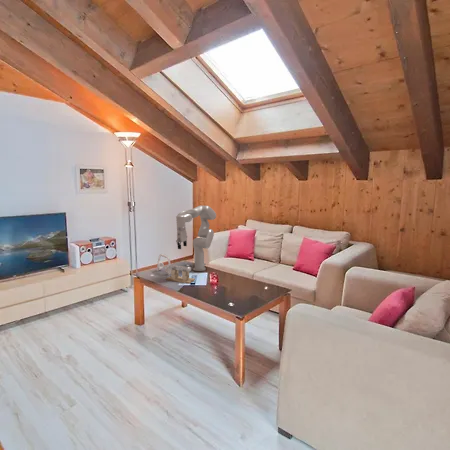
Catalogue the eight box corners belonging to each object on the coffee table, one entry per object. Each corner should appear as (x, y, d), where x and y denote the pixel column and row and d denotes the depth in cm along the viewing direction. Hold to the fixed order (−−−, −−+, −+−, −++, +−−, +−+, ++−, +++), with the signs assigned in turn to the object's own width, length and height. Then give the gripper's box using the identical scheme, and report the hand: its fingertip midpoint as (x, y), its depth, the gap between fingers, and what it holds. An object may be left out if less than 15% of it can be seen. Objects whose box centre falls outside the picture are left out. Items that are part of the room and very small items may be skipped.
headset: (173, 274, 308) (172, 255, 305) (166, 275, 303) (166, 257, 300) (162, 269, 323) (161, 252, 320) (155, 271, 318) (155, 253, 315)
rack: (172, 276, 300) (171, 264, 298) (195, 280, 290) (194, 267, 288) (165, 280, 291) (165, 267, 289) (189, 283, 281) (188, 270, 279)
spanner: (167, 269, 291) (167, 266, 291) (171, 267, 296) (171, 264, 296) (189, 272, 282) (188, 268, 282) (192, 270, 287) (192, 267, 287)
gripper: (179, 231, 281) (180, 250, 284) (189, 227, 296) (190, 245, 300) (172, 230, 284) (173, 249, 287) (182, 226, 299) (183, 244, 303)
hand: (182, 247), depth 293 cm, fingers open, 9 cm apart
